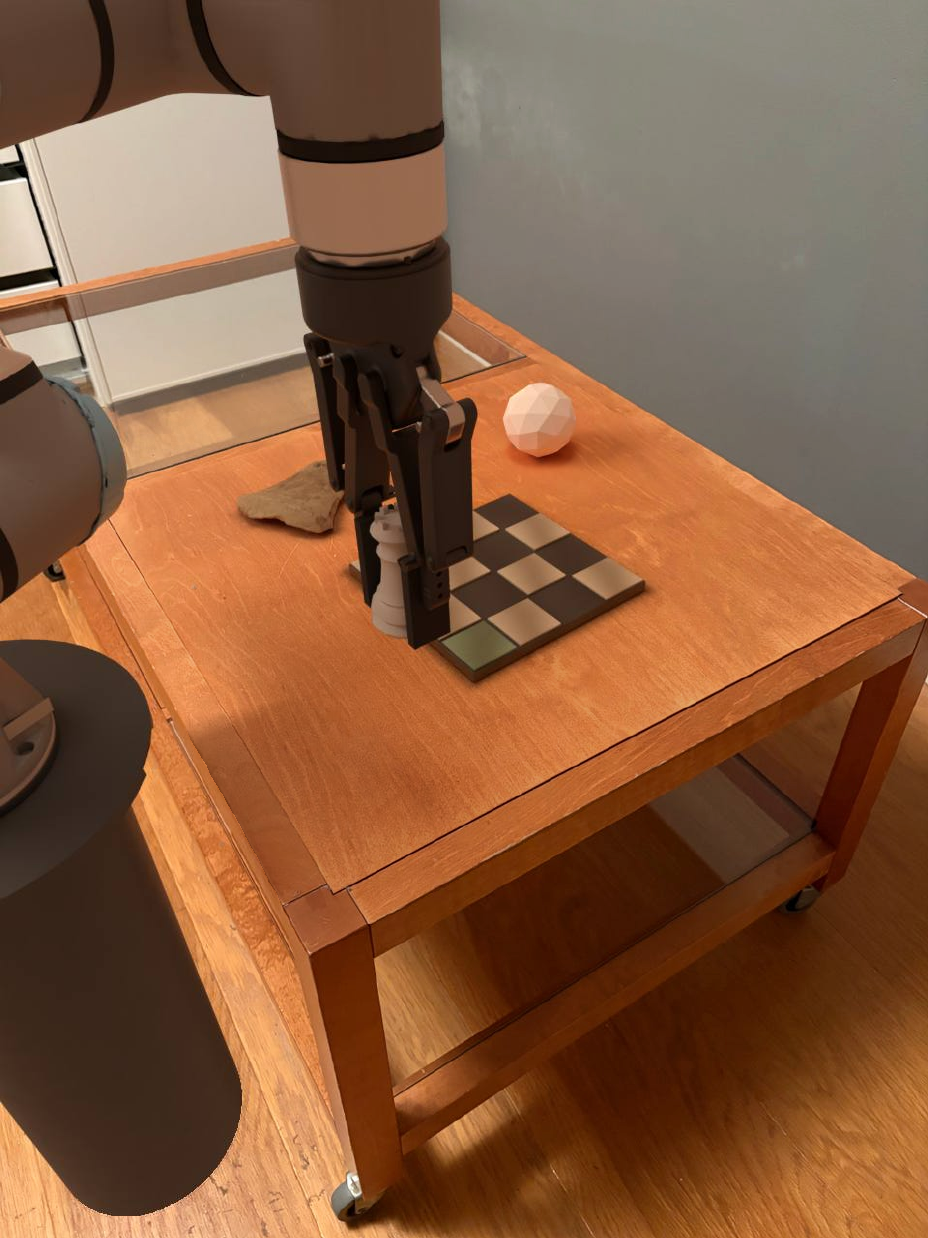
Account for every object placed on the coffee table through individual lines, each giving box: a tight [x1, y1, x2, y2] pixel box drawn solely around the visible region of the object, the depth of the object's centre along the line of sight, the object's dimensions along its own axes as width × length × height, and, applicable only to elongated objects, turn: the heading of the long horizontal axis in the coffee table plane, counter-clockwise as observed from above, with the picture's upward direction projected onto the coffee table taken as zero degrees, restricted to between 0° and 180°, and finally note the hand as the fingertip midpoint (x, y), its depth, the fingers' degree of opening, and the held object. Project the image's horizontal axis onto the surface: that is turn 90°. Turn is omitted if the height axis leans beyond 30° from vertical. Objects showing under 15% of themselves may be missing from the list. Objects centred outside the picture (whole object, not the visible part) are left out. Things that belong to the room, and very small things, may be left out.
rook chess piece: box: [370, 501, 408, 640], centre depth 58 cm, size 4×4×8 cm
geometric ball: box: [502, 382, 578, 458], centre depth 102 cm, size 8×8×8 cm
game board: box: [348, 493, 646, 683], centre depth 86 cm, size 19×19×1 cm
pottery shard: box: [236, 459, 345, 534], centre depth 96 cm, size 11×4×10 cm
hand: (406, 616), depth 60 cm, fingers closed on rook chess piece, 4 cm apart
